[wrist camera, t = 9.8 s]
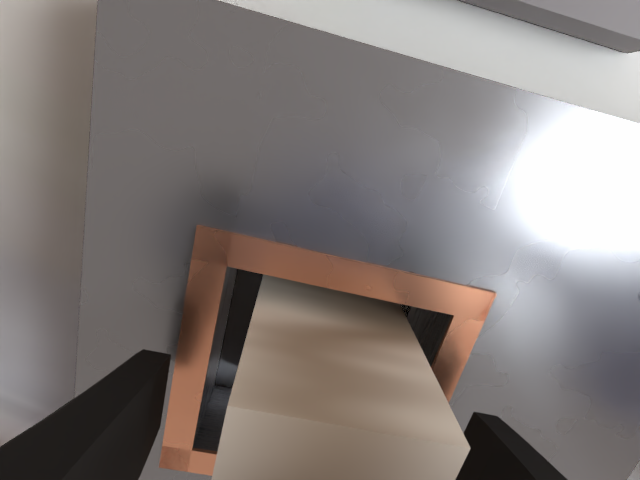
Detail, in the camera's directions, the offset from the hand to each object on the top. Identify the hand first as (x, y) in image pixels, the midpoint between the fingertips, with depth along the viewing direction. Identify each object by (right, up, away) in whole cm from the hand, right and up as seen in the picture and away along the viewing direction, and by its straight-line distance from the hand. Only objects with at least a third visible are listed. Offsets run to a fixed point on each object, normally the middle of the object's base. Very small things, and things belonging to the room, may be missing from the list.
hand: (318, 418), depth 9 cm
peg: (0, +1, +3) cm, 4 cm away
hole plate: (+2, +1, +4) cm, 4 cm away
